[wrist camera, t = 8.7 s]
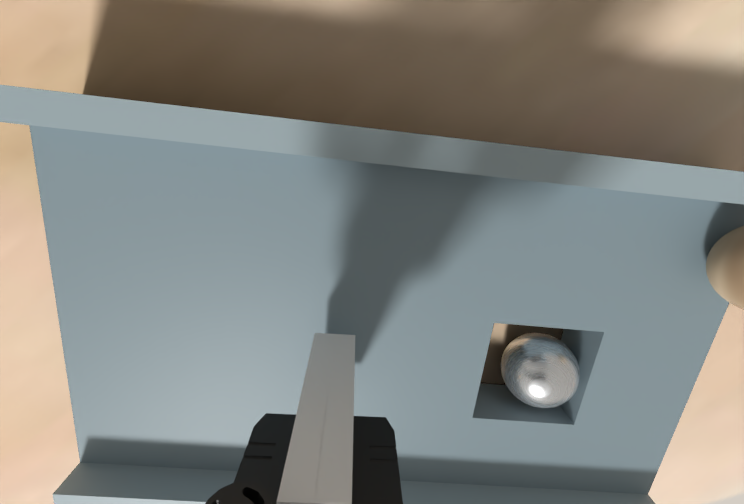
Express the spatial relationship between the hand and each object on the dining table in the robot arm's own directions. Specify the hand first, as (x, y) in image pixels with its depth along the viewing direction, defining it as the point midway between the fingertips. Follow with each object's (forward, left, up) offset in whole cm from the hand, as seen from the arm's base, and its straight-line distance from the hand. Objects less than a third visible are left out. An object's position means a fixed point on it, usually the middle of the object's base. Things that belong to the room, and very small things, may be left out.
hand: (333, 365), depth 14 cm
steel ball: (+1, +9, -2) cm, 9 cm away
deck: (-1, +3, -3) cm, 4 cm away
